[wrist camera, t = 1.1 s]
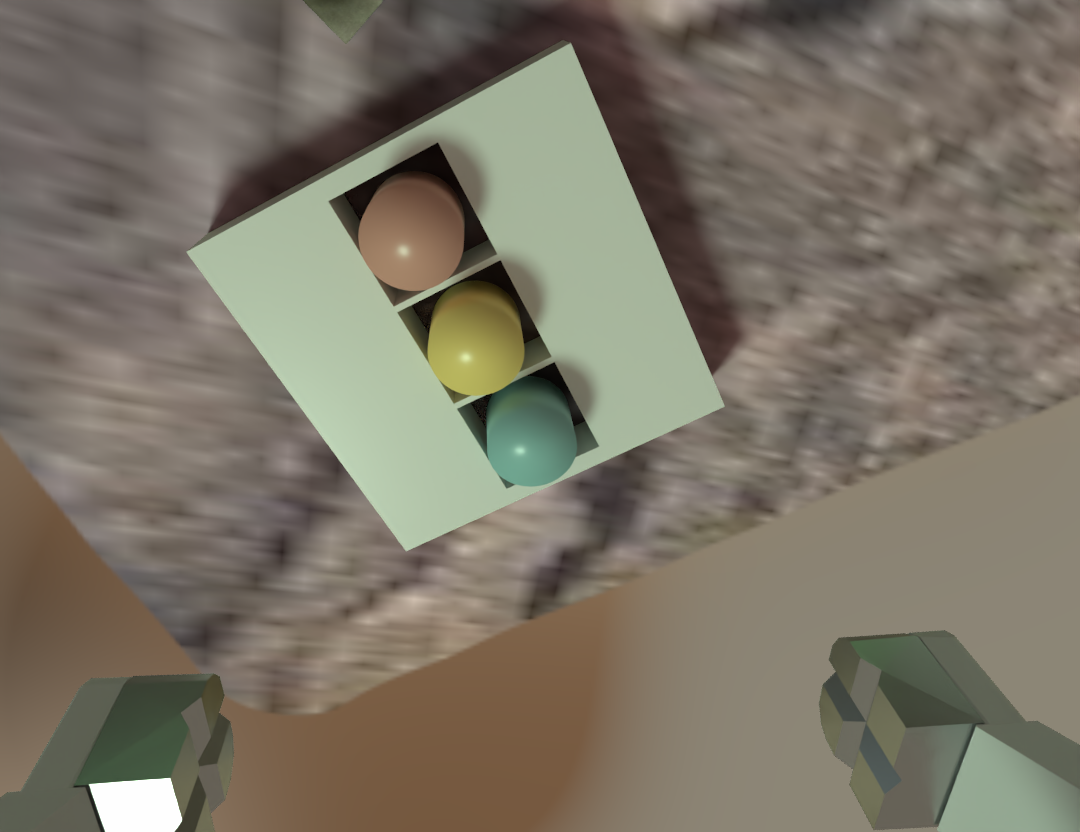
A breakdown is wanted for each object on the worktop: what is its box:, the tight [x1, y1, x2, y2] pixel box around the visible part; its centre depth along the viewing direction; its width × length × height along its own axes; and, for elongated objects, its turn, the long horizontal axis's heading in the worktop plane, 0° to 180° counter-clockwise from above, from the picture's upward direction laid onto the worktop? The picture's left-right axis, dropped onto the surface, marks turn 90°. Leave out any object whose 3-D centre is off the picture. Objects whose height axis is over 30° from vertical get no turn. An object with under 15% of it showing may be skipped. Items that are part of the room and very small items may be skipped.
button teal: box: [486, 376, 577, 487], centre depth 38 cm, size 4×4×4 cm
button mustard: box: [428, 281, 524, 396], centre depth 35 cm, size 4×4×4 cm
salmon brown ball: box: [358, 171, 465, 291], centre depth 33 cm, size 4×4×4 cm
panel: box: [187, 40, 725, 551], centre depth 37 cm, size 18×18×3 cm
